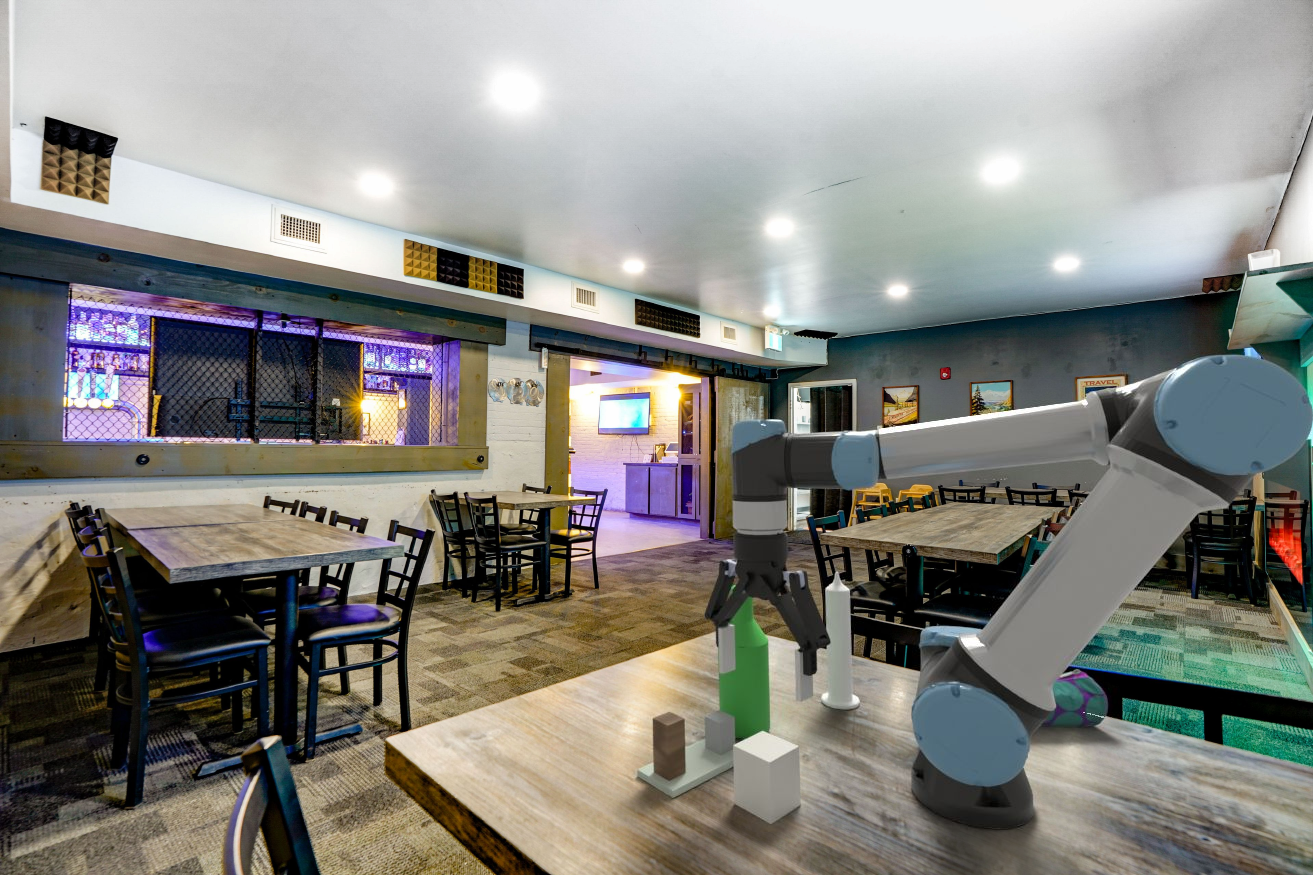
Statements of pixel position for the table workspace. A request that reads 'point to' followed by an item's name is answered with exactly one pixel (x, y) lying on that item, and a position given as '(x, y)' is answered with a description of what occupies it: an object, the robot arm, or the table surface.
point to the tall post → (669, 745)
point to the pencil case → (1077, 701)
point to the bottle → (747, 676)
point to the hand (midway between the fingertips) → (763, 684)
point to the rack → (700, 757)
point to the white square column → (766, 776)
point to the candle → (839, 648)
